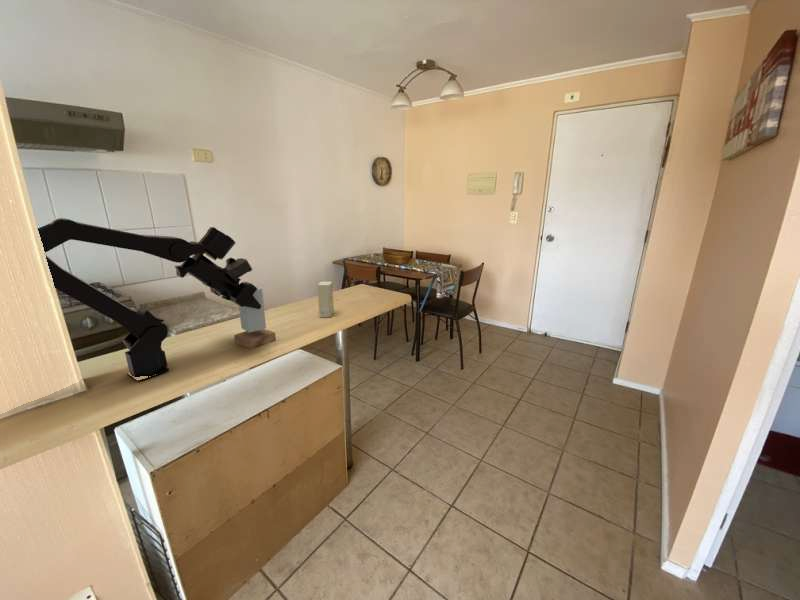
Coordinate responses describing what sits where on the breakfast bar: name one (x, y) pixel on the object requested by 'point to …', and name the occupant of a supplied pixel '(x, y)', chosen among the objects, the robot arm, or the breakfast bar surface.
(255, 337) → the walnut block
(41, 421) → the breakfast bar surface
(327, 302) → the skincare box
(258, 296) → the pillar
